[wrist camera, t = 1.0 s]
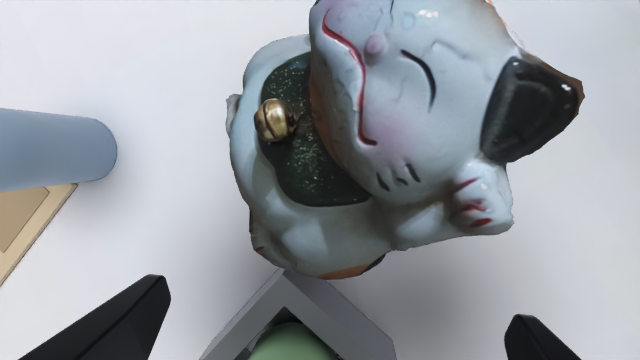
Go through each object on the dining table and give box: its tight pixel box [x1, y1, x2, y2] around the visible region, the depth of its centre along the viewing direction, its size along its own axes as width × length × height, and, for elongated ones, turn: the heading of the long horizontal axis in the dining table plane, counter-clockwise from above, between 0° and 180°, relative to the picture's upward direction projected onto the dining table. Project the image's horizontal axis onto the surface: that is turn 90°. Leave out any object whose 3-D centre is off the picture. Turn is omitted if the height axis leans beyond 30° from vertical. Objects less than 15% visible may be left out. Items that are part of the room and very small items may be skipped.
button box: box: [199, 268, 397, 360], centre depth 21 cm, size 9×9×4 cm
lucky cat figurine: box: [226, 0, 585, 280], centre depth 15 cm, size 15×12×14 cm
